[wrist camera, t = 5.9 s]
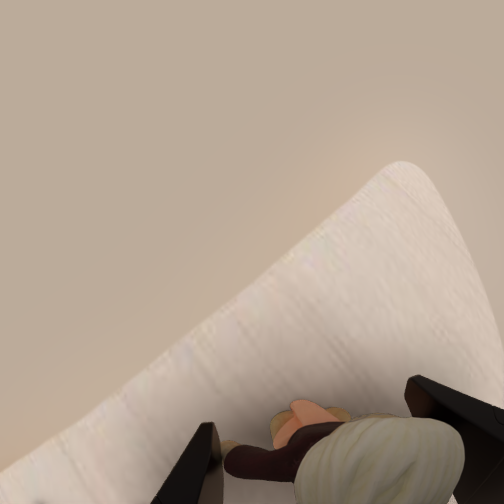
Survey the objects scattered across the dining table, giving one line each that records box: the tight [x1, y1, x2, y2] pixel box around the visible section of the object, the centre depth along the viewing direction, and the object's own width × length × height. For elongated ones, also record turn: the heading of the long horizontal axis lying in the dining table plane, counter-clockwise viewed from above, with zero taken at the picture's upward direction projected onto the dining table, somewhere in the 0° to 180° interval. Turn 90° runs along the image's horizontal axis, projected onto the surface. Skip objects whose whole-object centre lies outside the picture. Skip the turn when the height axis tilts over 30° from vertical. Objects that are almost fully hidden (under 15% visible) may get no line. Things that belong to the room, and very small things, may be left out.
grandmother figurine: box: [220, 400, 465, 504], centre depth 8 cm, size 8×4×13 cm, turn 99°
